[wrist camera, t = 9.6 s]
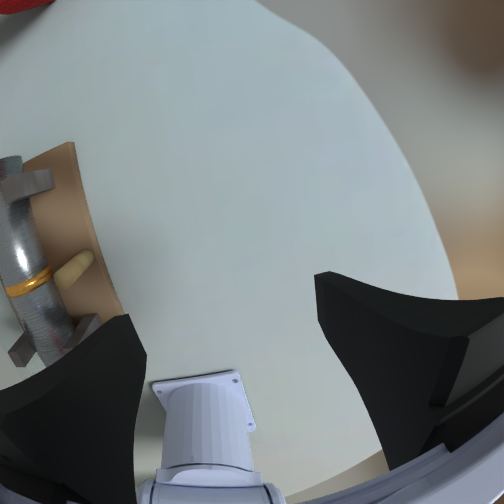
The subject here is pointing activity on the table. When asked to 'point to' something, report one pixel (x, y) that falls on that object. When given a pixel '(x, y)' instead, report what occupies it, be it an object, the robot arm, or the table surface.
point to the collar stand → (64, 243)
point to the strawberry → (20, 5)
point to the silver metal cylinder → (30, 275)
